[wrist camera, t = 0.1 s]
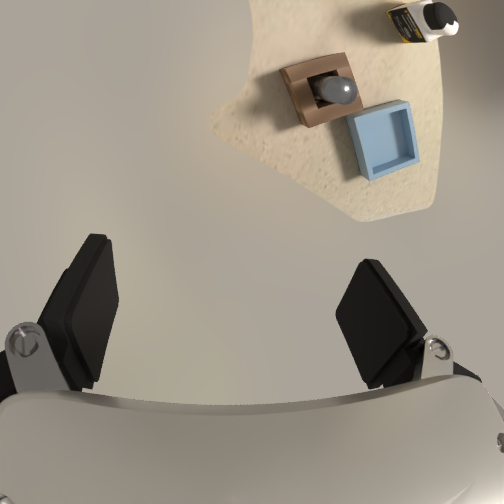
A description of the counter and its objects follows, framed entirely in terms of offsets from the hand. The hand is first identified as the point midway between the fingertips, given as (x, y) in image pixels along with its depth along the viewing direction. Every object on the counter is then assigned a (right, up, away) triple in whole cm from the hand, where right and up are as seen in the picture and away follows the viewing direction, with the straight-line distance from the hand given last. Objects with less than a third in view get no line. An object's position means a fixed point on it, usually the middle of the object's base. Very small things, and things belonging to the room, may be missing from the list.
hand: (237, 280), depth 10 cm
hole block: (+11, +28, +28) cm, 41 cm away
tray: (+24, +22, +34) cm, 47 cm away
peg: (+11, +28, +28) cm, 41 cm away
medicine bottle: (+29, +43, +21) cm, 56 cm away
